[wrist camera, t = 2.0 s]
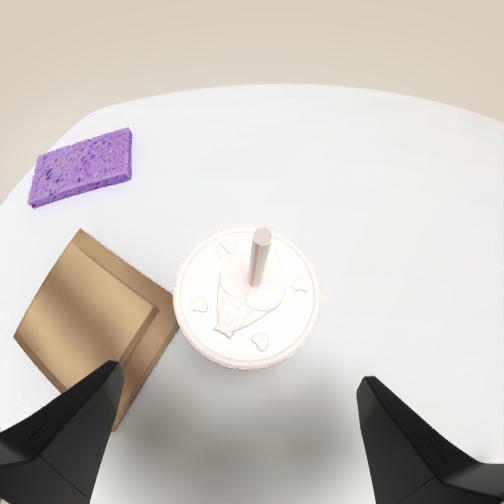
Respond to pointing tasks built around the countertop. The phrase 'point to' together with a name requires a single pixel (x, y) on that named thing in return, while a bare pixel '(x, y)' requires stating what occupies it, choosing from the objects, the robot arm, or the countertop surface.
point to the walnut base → (150, 339)
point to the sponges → (82, 167)
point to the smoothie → (247, 297)
